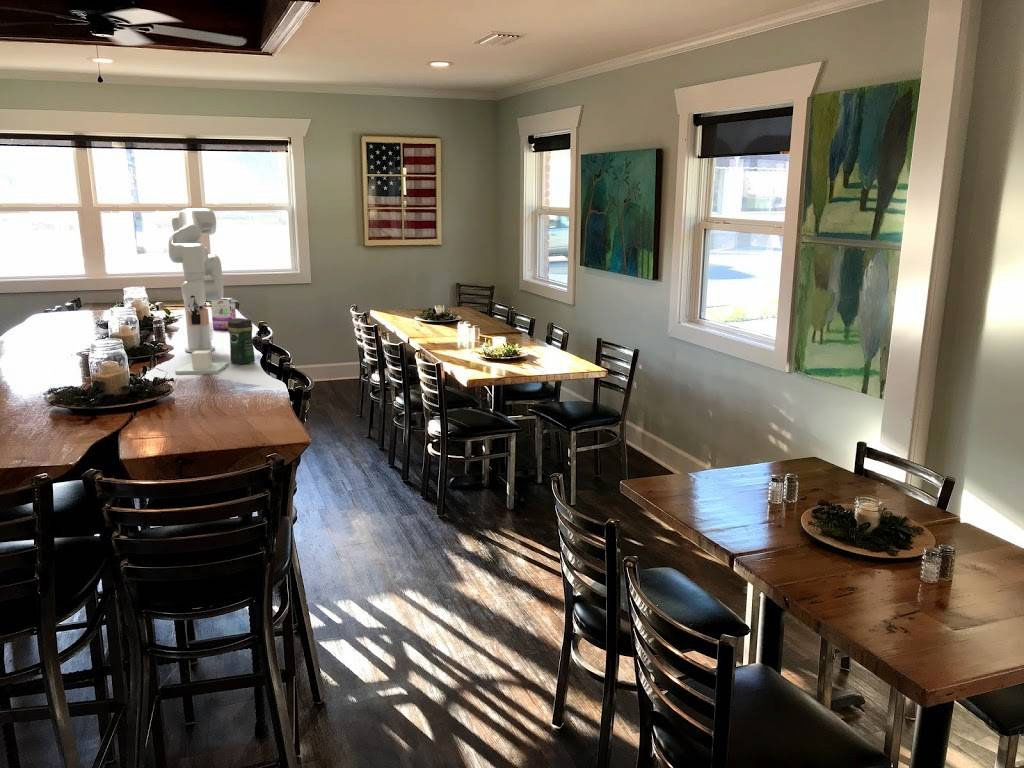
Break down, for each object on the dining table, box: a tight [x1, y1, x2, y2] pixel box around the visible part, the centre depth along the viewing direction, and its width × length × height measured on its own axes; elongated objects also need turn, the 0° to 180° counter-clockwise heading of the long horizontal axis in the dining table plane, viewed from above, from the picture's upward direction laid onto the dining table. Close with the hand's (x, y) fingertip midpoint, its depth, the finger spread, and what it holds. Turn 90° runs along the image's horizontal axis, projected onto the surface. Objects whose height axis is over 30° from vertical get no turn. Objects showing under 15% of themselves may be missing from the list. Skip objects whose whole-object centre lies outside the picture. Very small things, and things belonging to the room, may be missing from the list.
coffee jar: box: [227, 317, 256, 365], centre depth 333 cm, size 10×8×19 cm
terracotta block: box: [188, 308, 210, 326], centre depth 316 cm, size 6×6×6 cm
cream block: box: [190, 351, 213, 368], centre depth 320 cm, size 6×6×6 cm
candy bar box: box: [210, 297, 237, 330], centre depth 419 cm, size 11×5×16 cm, turn 81°
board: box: [175, 362, 229, 375], centre depth 320 cm, size 16×16×1 cm
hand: (198, 322), depth 316 cm, fingers closed on terracotta block, 6 cm apart
